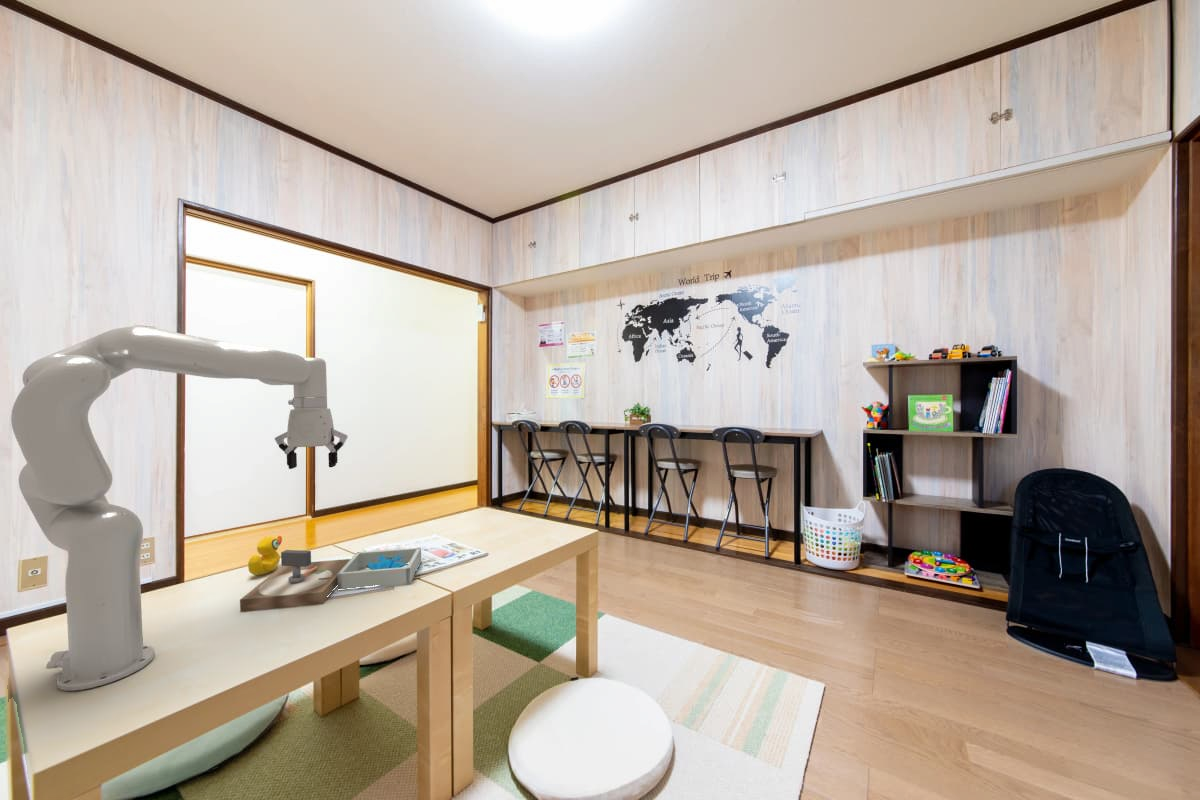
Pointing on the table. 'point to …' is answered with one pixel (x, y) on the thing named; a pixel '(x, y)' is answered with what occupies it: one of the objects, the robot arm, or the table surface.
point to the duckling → (265, 556)
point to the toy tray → (382, 577)
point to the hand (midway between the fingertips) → (312, 467)
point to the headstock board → (294, 587)
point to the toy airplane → (386, 563)
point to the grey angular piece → (297, 563)
